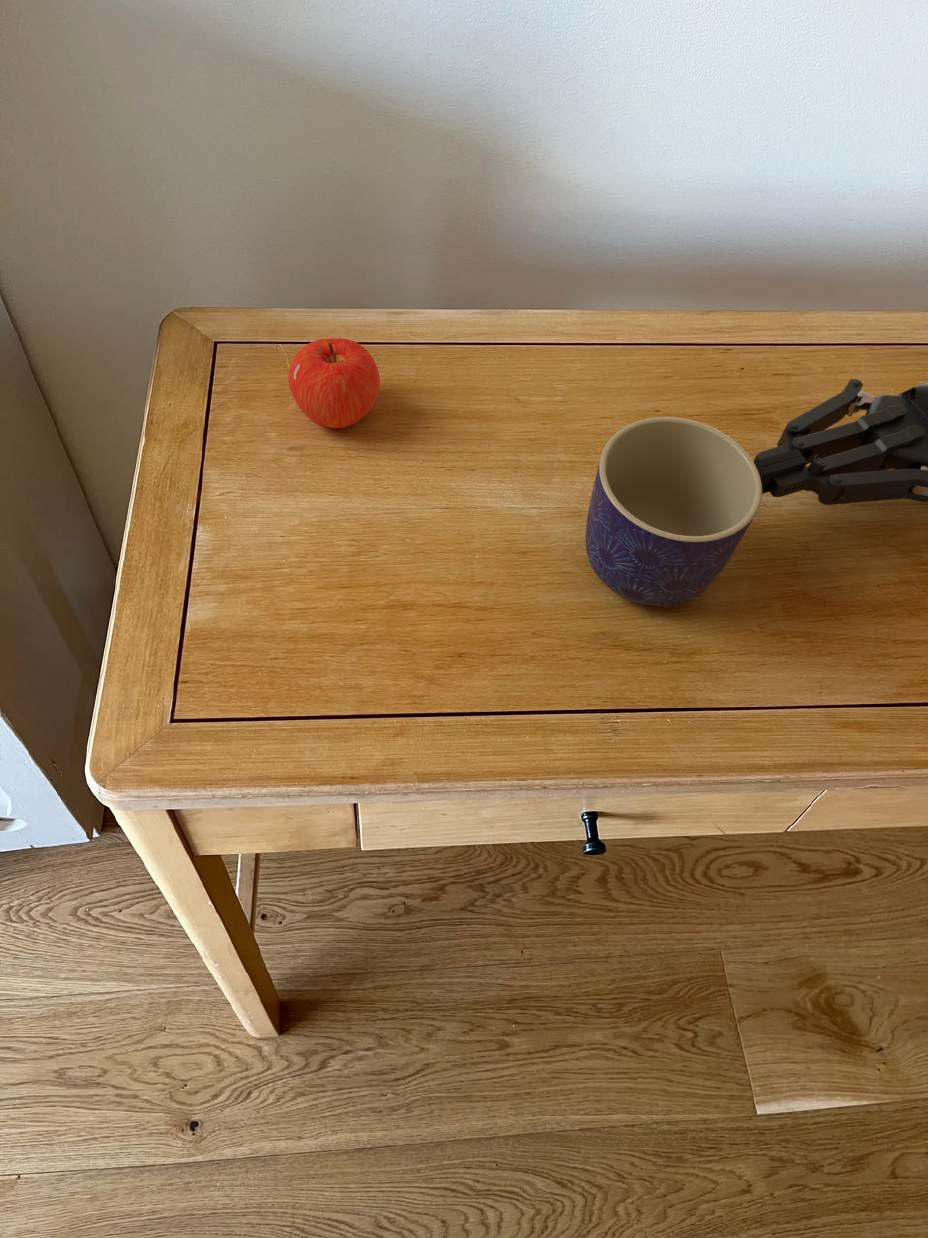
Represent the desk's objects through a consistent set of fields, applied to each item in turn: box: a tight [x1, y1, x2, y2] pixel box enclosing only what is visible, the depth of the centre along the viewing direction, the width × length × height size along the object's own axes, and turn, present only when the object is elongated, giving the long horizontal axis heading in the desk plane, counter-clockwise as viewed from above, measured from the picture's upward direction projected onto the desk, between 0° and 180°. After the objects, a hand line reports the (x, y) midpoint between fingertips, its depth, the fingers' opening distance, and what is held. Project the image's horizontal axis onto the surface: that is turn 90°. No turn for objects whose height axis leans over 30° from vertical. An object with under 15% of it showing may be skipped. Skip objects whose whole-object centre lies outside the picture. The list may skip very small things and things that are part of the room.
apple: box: [287, 337, 381, 429], centre depth 82 cm, size 8×8×8 cm
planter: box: [584, 416, 763, 607], centre depth 74 cm, size 12×12×11 cm
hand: (730, 486), depth 75 cm, fingers closed
